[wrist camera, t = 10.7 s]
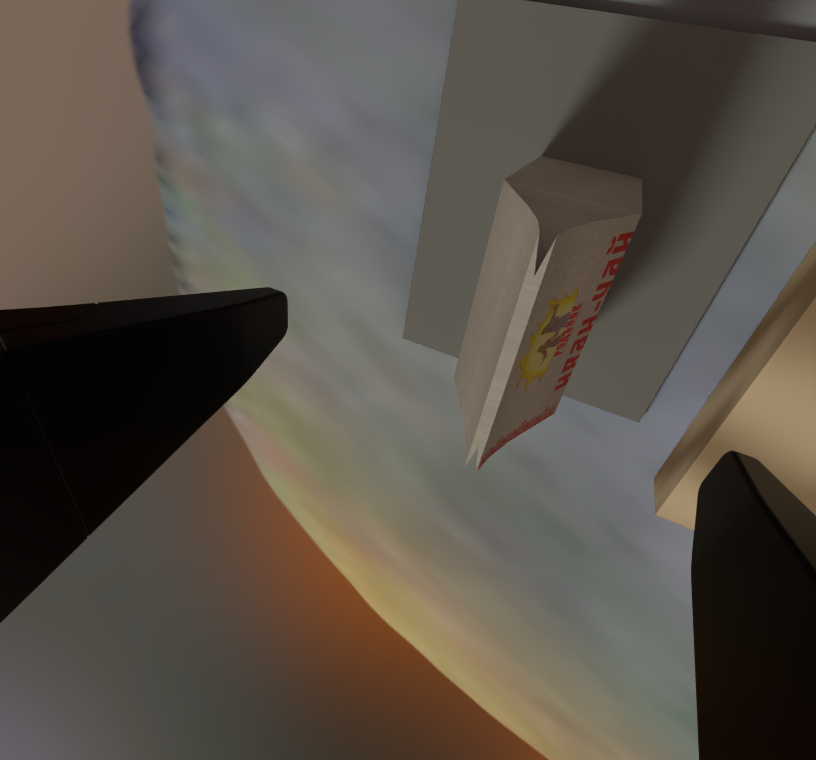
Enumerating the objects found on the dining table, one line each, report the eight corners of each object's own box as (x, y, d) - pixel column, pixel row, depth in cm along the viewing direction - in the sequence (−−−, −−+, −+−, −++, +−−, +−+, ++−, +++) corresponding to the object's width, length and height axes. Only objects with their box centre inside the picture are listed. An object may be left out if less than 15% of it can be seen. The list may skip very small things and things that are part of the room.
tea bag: (494, 314, 21) (409, 443, 13) (541, 155, 17) (457, 208, 9) (574, 340, 20) (531, 495, 12) (642, 178, 16) (642, 258, 8)
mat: (639, 417, 21) (639, 422, 21) (405, 334, 24) (402, 337, 24) (856, 49, 13) (860, 48, 13) (462, -8, 16) (459, -9, 16)
